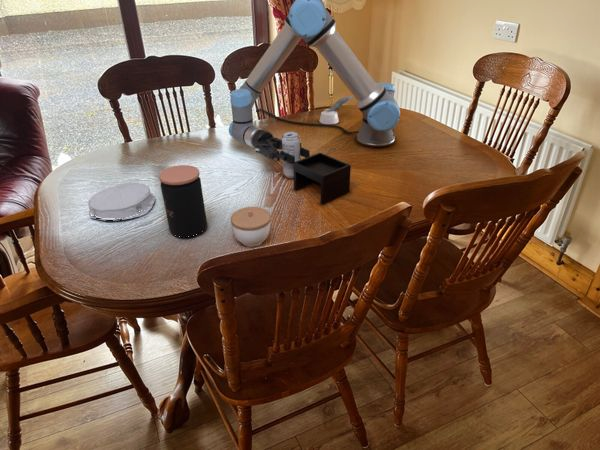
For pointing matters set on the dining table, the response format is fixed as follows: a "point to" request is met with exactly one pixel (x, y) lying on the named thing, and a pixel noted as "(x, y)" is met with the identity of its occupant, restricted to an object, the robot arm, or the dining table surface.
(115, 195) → the food container
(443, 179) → the dining table surface
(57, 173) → the dining table surface
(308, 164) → the stand
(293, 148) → the energy drink can
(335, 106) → the inkwell
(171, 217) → the coffee jar
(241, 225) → the trinket box
